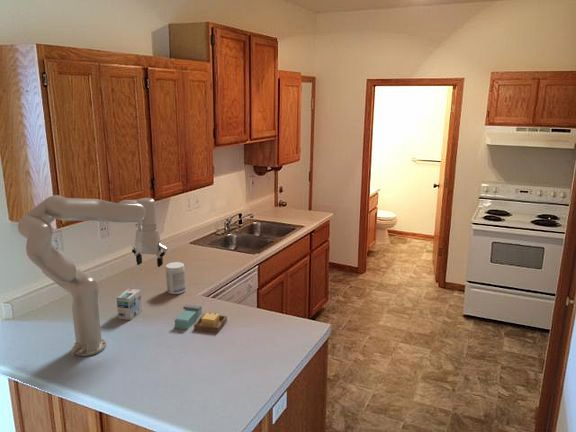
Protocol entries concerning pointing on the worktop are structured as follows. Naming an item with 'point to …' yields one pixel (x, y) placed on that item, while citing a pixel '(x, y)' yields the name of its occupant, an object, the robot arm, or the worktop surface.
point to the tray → (216, 329)
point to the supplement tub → (175, 278)
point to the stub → (210, 319)
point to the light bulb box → (129, 304)
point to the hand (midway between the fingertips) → (149, 264)
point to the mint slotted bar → (188, 316)
